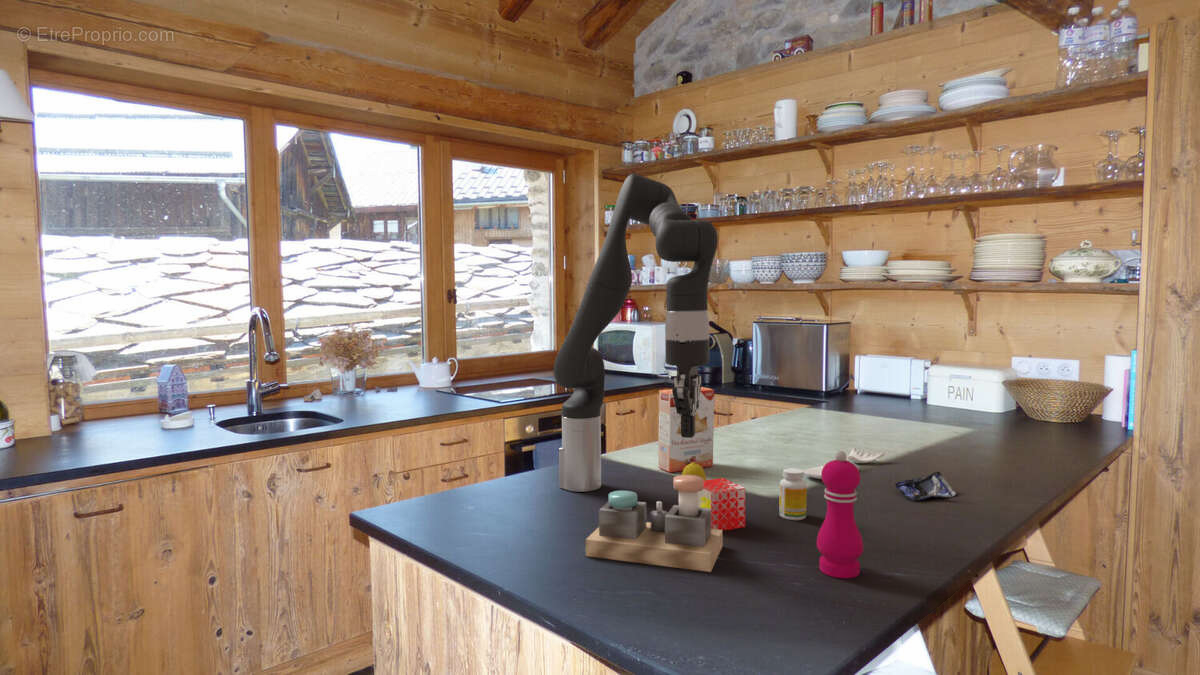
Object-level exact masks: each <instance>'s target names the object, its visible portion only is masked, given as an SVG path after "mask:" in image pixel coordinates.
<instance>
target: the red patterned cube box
mask: <svg viewBox="0 0 1200 675" xmlns="http://www.w3.org/2000/svg"><path fill="white" fill-rule="evenodd" d="M698 507H699V508H709V509H711V529H717V530H725V531H729V530H735V528H736V529H741V528H746V487H745V486H742V485H740V484H737V483H735V482H733V481H731V480H728V479H726V478H723V477H720V478H714V479H706V480H704V481H703V490H701V491H698ZM727 529H728V530H727Z"/></svg>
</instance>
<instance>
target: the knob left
mask: <svg viewBox="0 0 1200 675" xmlns="http://www.w3.org/2000/svg"><path fill="white" fill-rule="evenodd" d="M608 501H609V505H610V506H612V507H614V509H616V510H626V511H632V507H634V506H636V505H637V502H638V494H637V492H635V491H630V490H614V491H611V492H609V493H608Z"/></svg>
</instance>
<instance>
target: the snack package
mask: <svg viewBox="0 0 1200 675" xmlns="http://www.w3.org/2000/svg"><path fill="white" fill-rule="evenodd" d="M925 475H926V474H923V476H924V477H915V478H912V479H905V480H903V481H898V482H897V483H895V488H896V489H898V490H900V491H901V493H902V494H903V495H904V497H905V499H907V500H910V501H912V502H917V501H920V500H921V501H922V500H926V499H929V498H948V497H949V498H950V497H954V496H955V495H956V491H954V490H953V488H952V487H951V485H950V483H948V482H947V480H946V479H945V477H944V475H943V474H942V473H941V472H940V471H936V472H933V473H931V474H928V475H927V476H925Z"/></svg>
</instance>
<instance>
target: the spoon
mask: <svg viewBox="0 0 1200 675" xmlns="http://www.w3.org/2000/svg"><path fill="white" fill-rule="evenodd" d="M870 454H871V453H870V452H866V453H865V451H864V450H862V451H861V449H858V450H857V447H856V446H854V447H853V448H852V449H851V451H850V453H849V455H846V456H847V458H846V460H845V461H849V462H852V463H856V464H867V463H872V462H874V461H876V460H878V459H880V458H882V457H885V455H886V452H885V451H883V452H881V453H880V452H877V453H876V452H873V453H872V454H871V455H870ZM825 465H826V464H824V465H820V466H816V467H812V468H808V469H802V470H803V471H804V476H805V475H806V476H807V477H811V478H813V479H816V480H817V479H818V480H822V477H821V474H822V469H823V467H824V466H825Z"/></svg>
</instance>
